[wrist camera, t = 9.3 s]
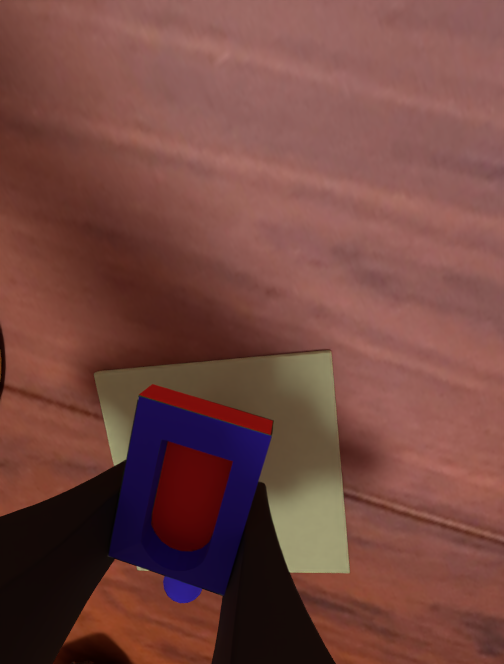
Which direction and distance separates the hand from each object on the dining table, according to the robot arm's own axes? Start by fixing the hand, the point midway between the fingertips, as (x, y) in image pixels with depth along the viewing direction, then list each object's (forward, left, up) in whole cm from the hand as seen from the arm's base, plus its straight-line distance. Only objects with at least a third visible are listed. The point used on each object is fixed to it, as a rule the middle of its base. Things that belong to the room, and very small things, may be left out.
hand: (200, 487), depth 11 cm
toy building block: (+2, +4, +1) cm, 5 cm away
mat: (0, -2, -3) cm, 4 cm away
